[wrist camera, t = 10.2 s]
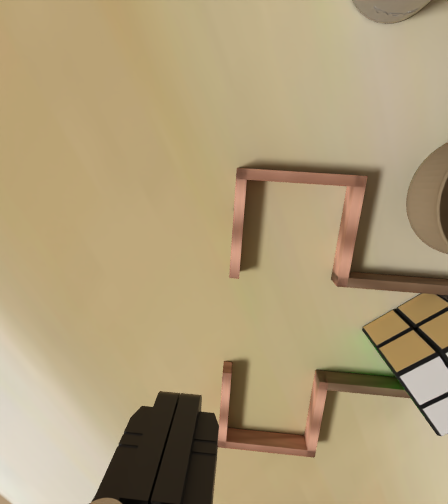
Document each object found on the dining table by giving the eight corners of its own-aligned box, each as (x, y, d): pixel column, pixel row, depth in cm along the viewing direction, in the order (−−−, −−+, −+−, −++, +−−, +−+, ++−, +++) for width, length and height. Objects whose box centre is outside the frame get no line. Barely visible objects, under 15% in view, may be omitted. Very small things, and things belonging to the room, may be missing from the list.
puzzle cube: (464, 343, 41) (532, 398, 31) (396, 378, 43) (440, 439, 33) (429, 287, 39) (489, 327, 29) (360, 326, 41) (395, 376, 31)
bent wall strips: (237, 167, 36) (236, 168, 34) (554, 187, 34) (577, 189, 32) (218, 432, 48) (217, 447, 45) (456, 457, 46) (468, 473, 43)
